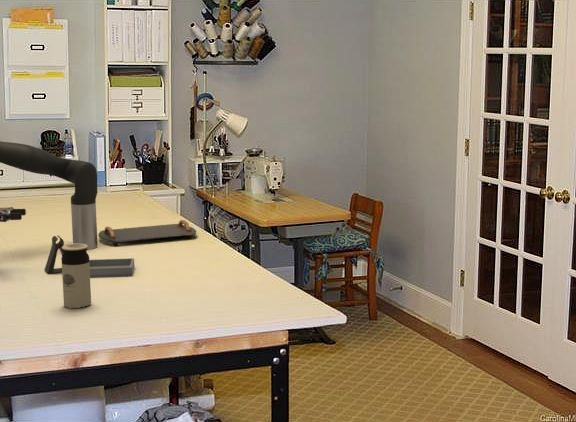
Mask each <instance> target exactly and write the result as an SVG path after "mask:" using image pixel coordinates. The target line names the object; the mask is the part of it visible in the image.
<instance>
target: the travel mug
mask: <svg viewBox="0 0 576 422" xmlns="http://www.w3.org/2000/svg"><path fill="white" fill-rule="evenodd" d="M87 247H88V246H87V245H86V244H73V243H69V244H68V243H67V244H64V246H62V249H63V255H61V260H60V261H61V268H62V273H61V275H62V276H61V277H62V295H63V298H62V299H63V306H64V307H66V308H68V307H71V308H70V309H80V308H79V307H83V308H86V307H85V306H87V307H89V306H90V305H91V304H92V292H91V290H92V289H91V278H90V266H89V260H90V255H89V253H88V252H87V250H88V249H87ZM88 305H89V306H88Z"/></svg>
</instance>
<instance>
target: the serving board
mask: <svg viewBox="0 0 576 422" xmlns="http://www.w3.org/2000/svg"><path fill="white" fill-rule="evenodd" d="M196 234H197V230H196V229H195V228H194V227H192V226H190V225H189V223H188V221H186V220H184V219H181V220H179V221H178V223H170V224H159V225H149V226H137V227H128V228H127V227H125V228H124V227H123V228H115V229H113V228H112V227H111V226H105V227H104V229H103V230H101V231H99V232H98V233H97V236H98V238H99V239H102V240H103V241H106V242H111V243H112V245H111V246H112V247H118V246H119V243H120V242H121V243H122V242H133V241H141V240H143V241H144V240H153V239H163V238H173V237H183V236H184V237H187V236H188V239H189V240H194V239H195V235H196Z"/></svg>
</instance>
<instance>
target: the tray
mask: <svg viewBox="0 0 576 422" xmlns="http://www.w3.org/2000/svg"><path fill="white" fill-rule="evenodd" d="M89 266H90V279H92V278H116V277H133V275H134V270H135V258H133V257H132V258H130V257H129V258H104V259H102V258H101V259H100V258H99V259H89Z"/></svg>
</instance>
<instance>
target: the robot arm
mask: <svg viewBox="0 0 576 422" xmlns="http://www.w3.org/2000/svg"><path fill="white" fill-rule="evenodd" d="M0 163H1V164H4V165H7V166H10V167H13V168H15V169H18V170H22V171H26V172H29V173H33V174H38V175H45V176H47V175H48V176H53V177H56V178H59V179H62V180H64V181H67V182H69V183H71V184H74V193H73V194H72V195H71V196H70V210H71V211H70V212H71V233H72V244H86V245H87V246H88V247H87V250H93V249H96V248H98V245H99V244H98V222H97V203H96V202H97V201H96V199H97V197H98V196H97V195H98V171H97V168H96V166H95V165H94V164H93V163H91V162H89V161H84V160H79V159H76V160H75V159H69V158H64V157H60V156H57V155H54V154H53V153H51V152H49V151H46V150H44V149H42V148H39V147H36V146H33V145H29V144H24V143H19V142H18V143H17V142H8V141H1V140H0ZM26 214H27V210H26V208H14V207H13V206H12V207H0V223H8V222H9V221H21V220H22V219H23V218H22V216H26Z"/></svg>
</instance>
